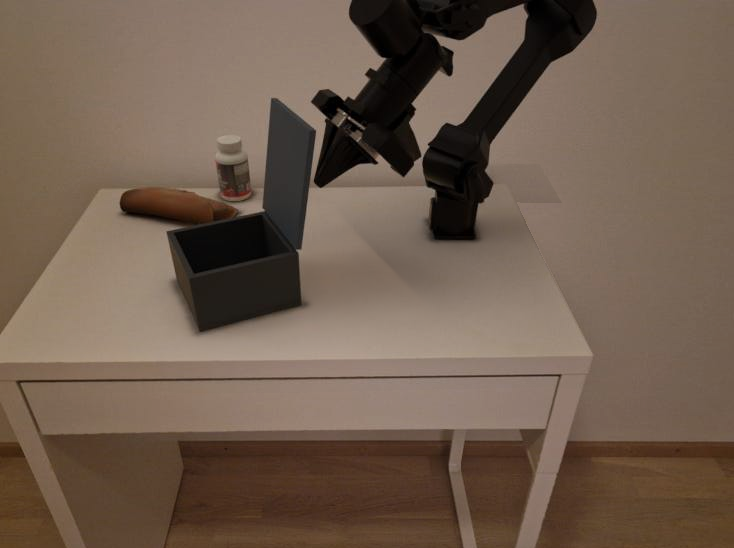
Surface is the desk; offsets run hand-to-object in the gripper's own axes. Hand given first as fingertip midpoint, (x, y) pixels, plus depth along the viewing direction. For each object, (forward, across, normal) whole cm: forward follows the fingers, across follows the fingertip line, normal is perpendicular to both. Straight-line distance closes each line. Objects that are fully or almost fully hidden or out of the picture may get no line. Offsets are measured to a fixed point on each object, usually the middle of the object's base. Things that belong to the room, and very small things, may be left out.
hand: (316, 185), depth 75 cm
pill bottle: (+12, +30, -7) cm, 33 cm away
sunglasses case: (+19, +27, 0) cm, 33 cm away
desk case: (+18, 0, -1) cm, 18 cm away
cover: (+1, 0, +5) cm, 5 cm away
